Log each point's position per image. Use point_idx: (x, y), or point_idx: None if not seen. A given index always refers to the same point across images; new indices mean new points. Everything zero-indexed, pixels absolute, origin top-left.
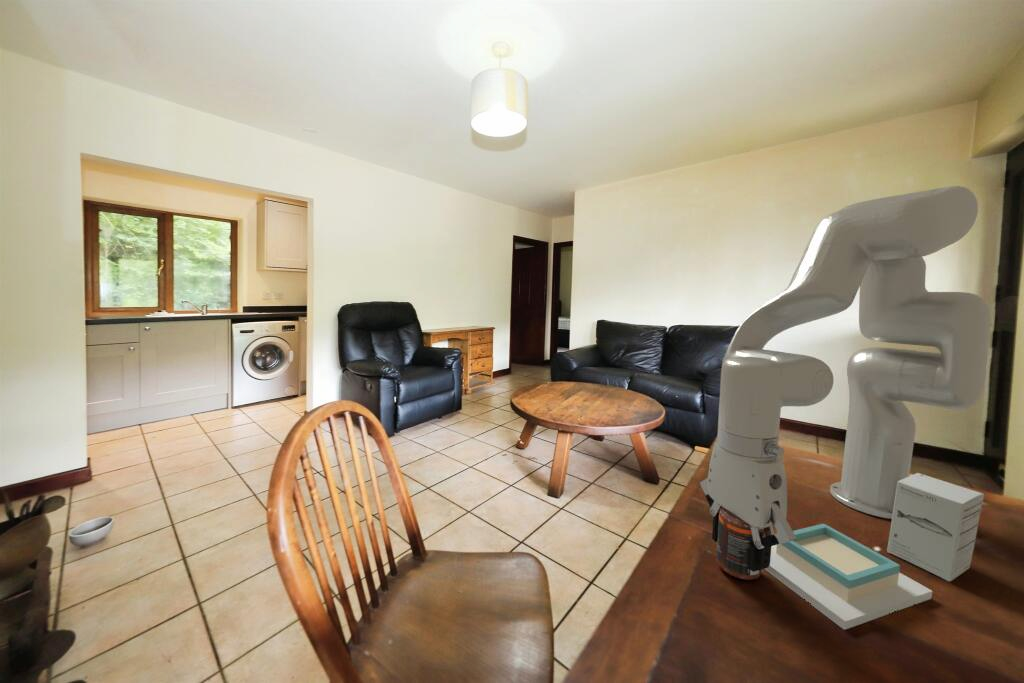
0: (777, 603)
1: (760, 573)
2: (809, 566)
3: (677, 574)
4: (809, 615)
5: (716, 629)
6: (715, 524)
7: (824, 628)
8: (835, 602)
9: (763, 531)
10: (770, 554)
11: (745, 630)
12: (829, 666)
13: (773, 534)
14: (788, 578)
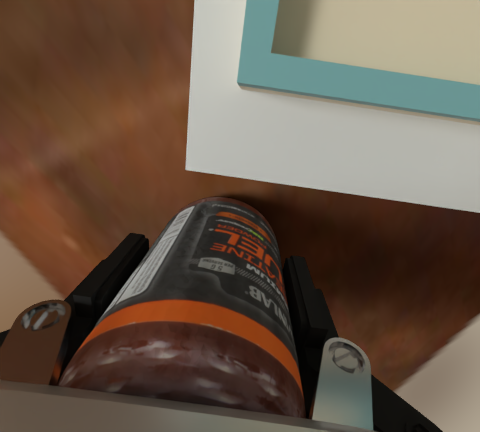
0: (337, 259)
1: (274, 235)
2: (385, 108)
3: None
4: (400, 231)
5: None
6: None
7: (435, 239)
8: (461, 160)
9: (297, 368)
10: (331, 319)
11: None
12: (461, 316)
13: (367, 404)
14: (332, 187)
